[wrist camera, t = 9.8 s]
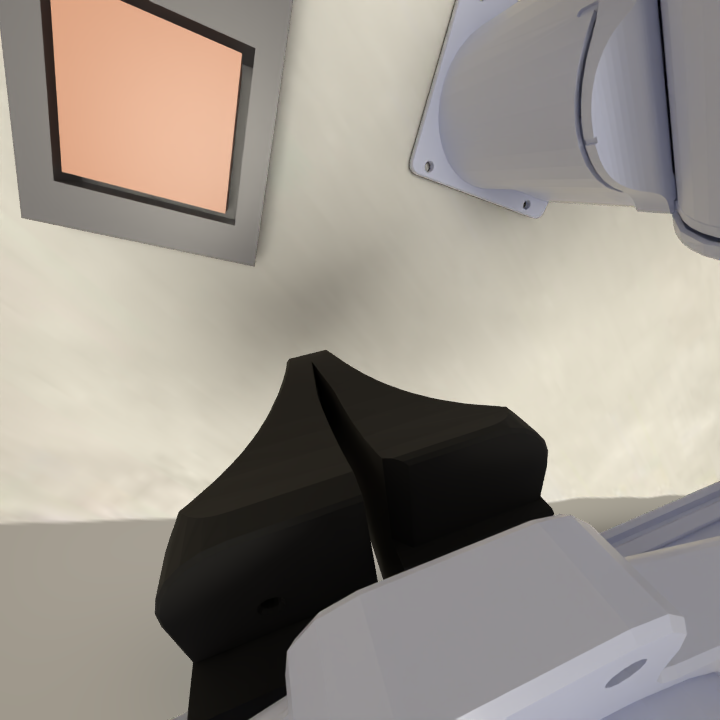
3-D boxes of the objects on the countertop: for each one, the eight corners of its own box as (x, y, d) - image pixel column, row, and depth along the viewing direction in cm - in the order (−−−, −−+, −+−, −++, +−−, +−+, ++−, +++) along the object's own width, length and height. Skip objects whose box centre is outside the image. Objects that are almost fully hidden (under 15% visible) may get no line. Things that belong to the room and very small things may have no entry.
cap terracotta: (242, 73, 14) (241, 53, 11) (227, 209, 16) (225, 213, 13) (84, 8, 12) (48, -31, 9) (90, 173, 14) (61, 171, 11)
